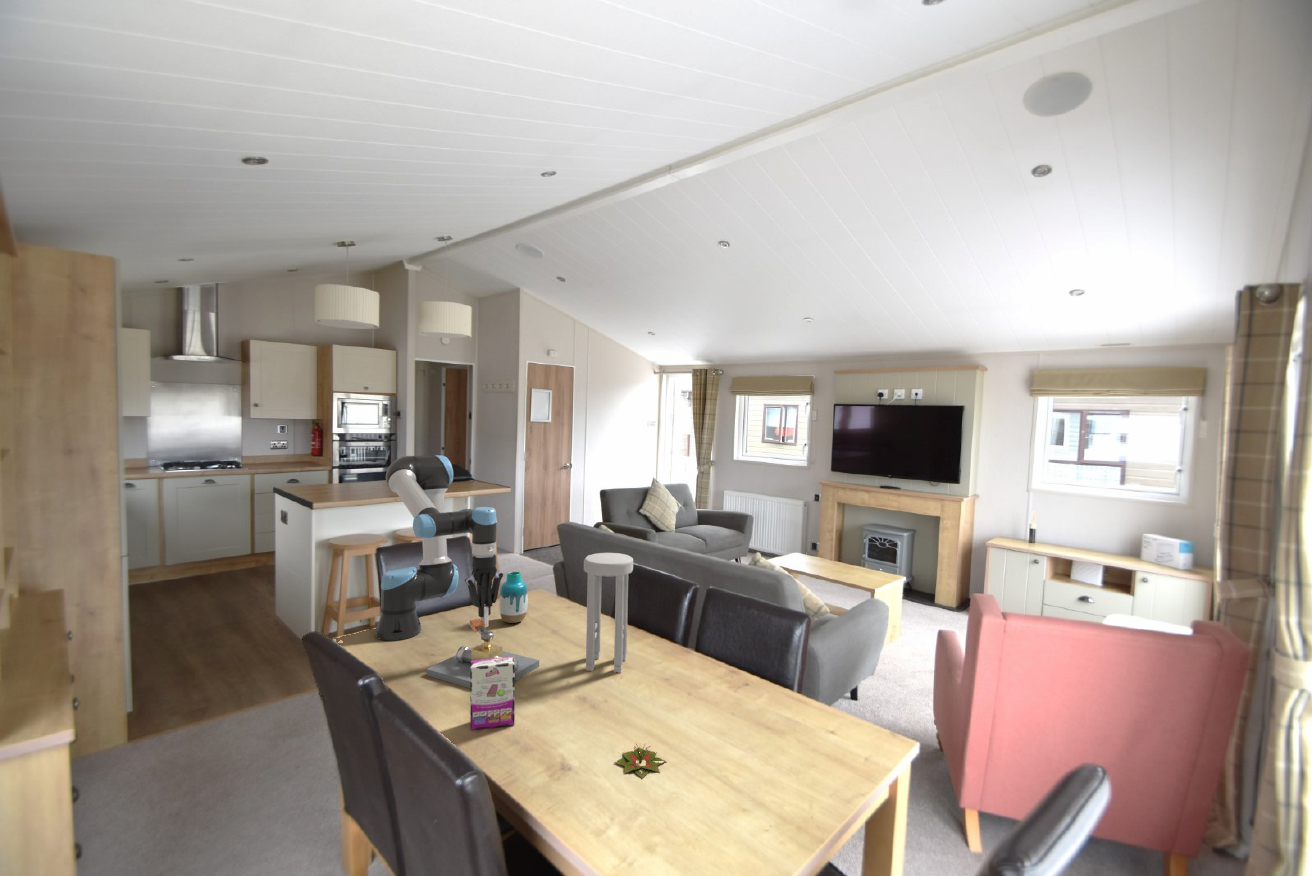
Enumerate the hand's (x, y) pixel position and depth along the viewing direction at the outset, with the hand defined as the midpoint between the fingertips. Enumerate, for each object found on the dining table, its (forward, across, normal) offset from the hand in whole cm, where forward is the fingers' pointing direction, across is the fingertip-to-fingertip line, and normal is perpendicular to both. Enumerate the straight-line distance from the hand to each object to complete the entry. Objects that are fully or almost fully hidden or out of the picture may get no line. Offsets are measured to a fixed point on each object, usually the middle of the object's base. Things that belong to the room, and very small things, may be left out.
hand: (484, 625), depth 193 cm
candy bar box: (+11, -19, -38) cm, 44 cm away
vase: (+12, +26, +24) cm, 37 cm away
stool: (+12, +27, -31) cm, 42 cm away
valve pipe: (+9, -5, -11) cm, 15 cm away
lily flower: (+12, -3, -78) cm, 78 cm away
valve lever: (0, -4, -5) cm, 6 cm away
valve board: (+11, -5, -8) cm, 15 cm away
